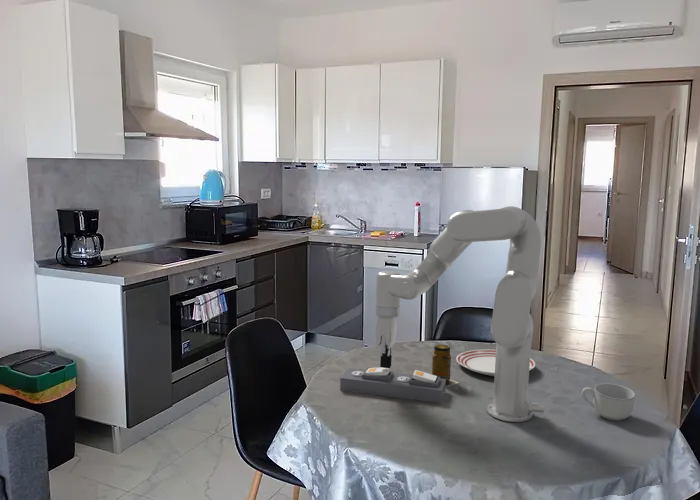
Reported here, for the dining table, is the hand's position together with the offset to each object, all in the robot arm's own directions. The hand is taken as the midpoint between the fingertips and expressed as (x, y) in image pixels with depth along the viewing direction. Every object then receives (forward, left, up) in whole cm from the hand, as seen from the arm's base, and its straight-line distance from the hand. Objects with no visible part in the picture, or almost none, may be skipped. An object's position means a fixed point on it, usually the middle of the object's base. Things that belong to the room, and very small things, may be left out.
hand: (385, 366), depth 184 cm
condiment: (-17, -13, -8) cm, 22 cm away
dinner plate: (-33, -33, -8) cm, 47 cm away
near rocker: (-13, 0, -2) cm, 13 cm away
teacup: (-66, -2, -8) cm, 66 cm away
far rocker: (+2, 0, -2) cm, 3 cm away
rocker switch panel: (-3, 0, -8) cm, 8 cm away
